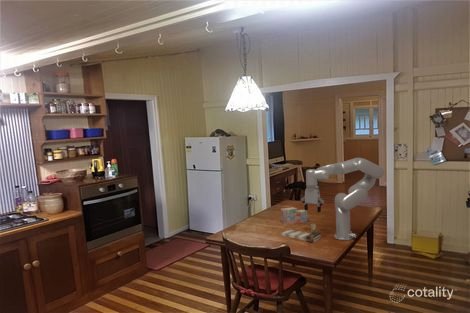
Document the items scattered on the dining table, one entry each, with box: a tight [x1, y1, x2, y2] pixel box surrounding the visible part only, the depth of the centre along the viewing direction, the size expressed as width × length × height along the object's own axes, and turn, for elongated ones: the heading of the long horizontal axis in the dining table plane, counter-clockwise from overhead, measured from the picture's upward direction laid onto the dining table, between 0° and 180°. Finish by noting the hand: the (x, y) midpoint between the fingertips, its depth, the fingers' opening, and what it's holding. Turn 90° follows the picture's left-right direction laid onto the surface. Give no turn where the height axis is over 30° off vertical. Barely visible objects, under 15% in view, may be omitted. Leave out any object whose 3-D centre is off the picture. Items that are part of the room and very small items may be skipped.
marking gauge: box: [305, 223, 321, 243], centre depth 233 cm, size 5×14×10 cm, turn 140°
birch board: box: [281, 229, 322, 243], centre depth 240 cm, size 26×10×2 cm, turn 50°
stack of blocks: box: [280, 206, 309, 226], centre depth 275 cm, size 21×6×12 cm, turn 102°
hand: (312, 211), depth 232 cm, fingers open, 9 cm apart
